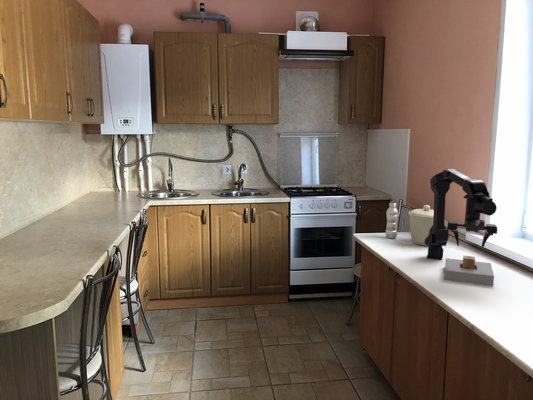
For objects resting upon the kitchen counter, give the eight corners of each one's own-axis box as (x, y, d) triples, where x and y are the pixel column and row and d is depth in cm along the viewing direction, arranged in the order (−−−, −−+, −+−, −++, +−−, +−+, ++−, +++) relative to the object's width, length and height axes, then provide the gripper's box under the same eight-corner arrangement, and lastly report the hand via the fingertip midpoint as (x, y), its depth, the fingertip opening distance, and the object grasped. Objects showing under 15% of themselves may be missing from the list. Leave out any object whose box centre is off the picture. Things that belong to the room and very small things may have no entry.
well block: (444, 279, 182) (445, 270, 181) (445, 266, 198) (445, 258, 198) (493, 285, 175) (494, 276, 174) (489, 271, 192) (490, 263, 191)
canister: (412, 237, 250) (415, 201, 246) (446, 242, 239) (449, 204, 236) (402, 244, 235) (404, 205, 232) (437, 250, 225) (439, 209, 221)
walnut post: (462, 276, 186) (463, 258, 184) (461, 273, 190) (463, 255, 188) (473, 278, 184) (475, 259, 183) (473, 274, 188) (474, 256, 187)
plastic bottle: (391, 240, 244) (392, 204, 241) (382, 237, 250) (384, 202, 247) (399, 238, 247) (401, 203, 244) (391, 236, 253) (393, 201, 250)
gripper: (448, 212, 179) (445, 249, 181) (500, 216, 172) (496, 254, 174) (448, 207, 189) (446, 242, 191) (497, 211, 182) (494, 247, 184)
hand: (469, 247), depth 185 cm, fingers open, 9 cm apart
